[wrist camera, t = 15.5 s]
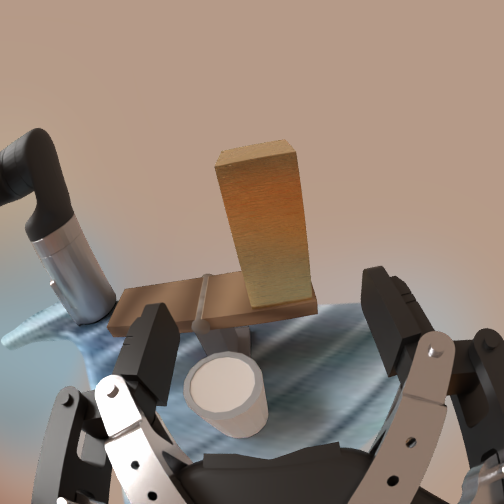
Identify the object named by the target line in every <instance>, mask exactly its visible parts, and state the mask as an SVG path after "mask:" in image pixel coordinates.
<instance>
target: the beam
mask: <svg viewBox="0 0 504 504" xmlns="http://www.w3.org/2000/svg"><path fill="white" fill-rule="evenodd" d="M311 289H312V300H307V301H302V302H296V303H291V304H285V305H279V306H273V307H266V308H260V309H253V310H252V307H251V303H250V300H249V296H248V292H247V289H246V285H245V281H244V278H243V274H242V271H238V272H232V273H226V274H220V275H212V274H205V275H203V276H202V277H201V278H195V279H189V280H182V281H176V282H169V283H163V284H156V285H149V286H142V287H136V288H129V289H125V290H124V292H123V294H122V296H121V298H120V300H119V302H118V304H117V306H116V308H115V310H114V312H113V314H112V316H111V318H110V321H109V323H108V325H107V329H108V330H109V331H110V333H111V334H112V336H113V337H126V335H127V333H128V330H129V328H130V326H131V325H132V323H133V322H134V321H135V320H136V318H137V317H141V314H142V312H143V309H144V307H145V305H146V304H153V303H161V302H163V303H165V304H166V306H167V308H168V310H169V312H170V314H171V315H172V317H173V319H174V321H175V323H176V325H177V326H178V329H179V333H186V332H195V333H197V334H201V335H203V334H207V333H208V332H209V331H210V330H215V329H224V328H232V327H239V326H247V325H254V324H261V323H267V322H274V321H280V320H286V319H292V318H298V317H304V316H309V315H314V314H318V309H317V299H316V296H315V292H314V289H313V286H312V283H311Z"/></svg>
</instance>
